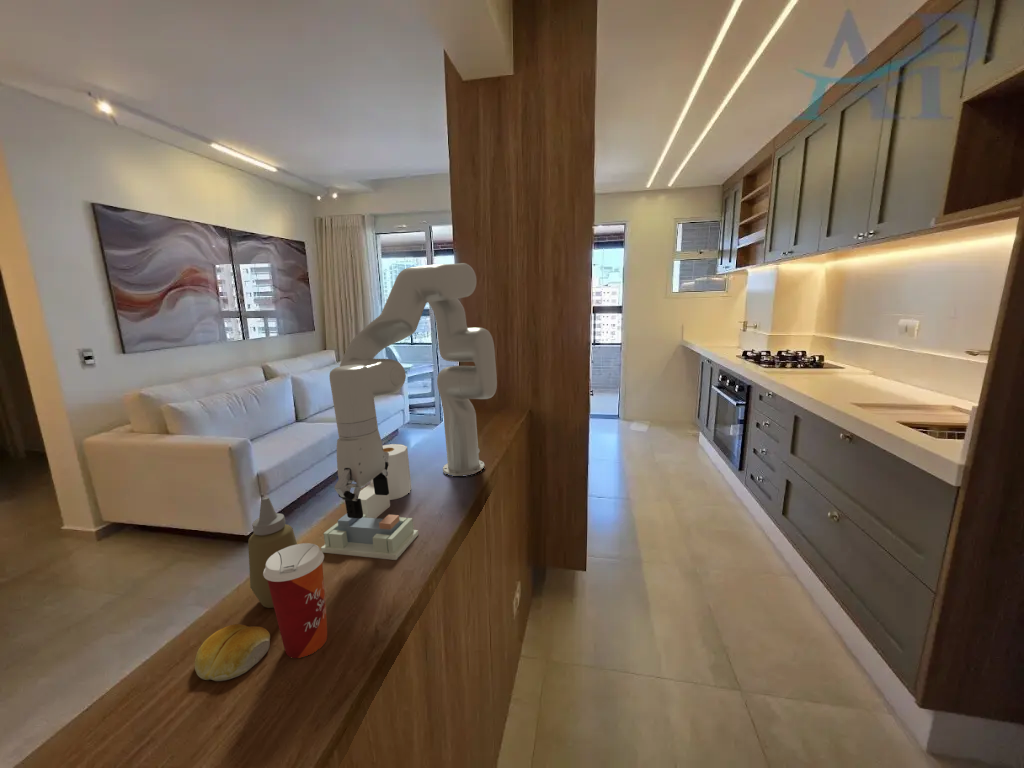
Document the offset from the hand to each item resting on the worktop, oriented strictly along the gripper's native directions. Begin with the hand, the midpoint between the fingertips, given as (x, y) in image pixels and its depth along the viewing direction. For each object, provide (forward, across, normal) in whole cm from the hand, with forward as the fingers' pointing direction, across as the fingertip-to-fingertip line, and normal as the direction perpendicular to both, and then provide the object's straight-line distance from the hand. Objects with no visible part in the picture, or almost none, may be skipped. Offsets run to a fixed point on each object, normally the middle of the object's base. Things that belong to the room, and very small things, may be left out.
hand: (369, 505), depth 87 cm
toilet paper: (+9, -23, -9) cm, 26 cm away
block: (+9, -11, -8) cm, 16 cm away
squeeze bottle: (+8, +19, -6) cm, 21 cm away
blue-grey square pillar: (+7, +1, 0) cm, 7 cm away
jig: (+8, +1, 0) cm, 8 cm away
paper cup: (+7, +27, +6) cm, 29 cm away
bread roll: (+7, +31, -3) cm, 32 cm away
